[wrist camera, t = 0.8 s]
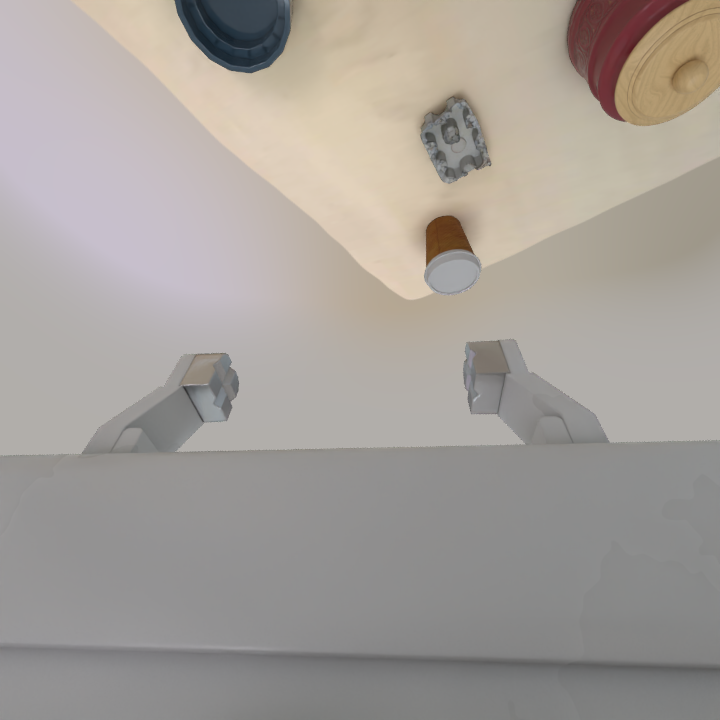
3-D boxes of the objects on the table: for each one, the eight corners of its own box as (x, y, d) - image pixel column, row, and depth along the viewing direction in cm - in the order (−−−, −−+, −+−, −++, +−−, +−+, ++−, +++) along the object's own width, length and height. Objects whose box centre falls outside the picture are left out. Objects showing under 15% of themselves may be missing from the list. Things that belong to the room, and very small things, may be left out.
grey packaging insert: (488, 151, 60) (494, 167, 58) (442, 176, 64) (446, 192, 61) (465, 86, 52) (471, 102, 50) (414, 118, 56) (417, 134, 54)
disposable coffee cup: (468, 245, 76) (480, 292, 70) (418, 253, 77) (426, 300, 71) (471, 203, 68) (485, 252, 62) (415, 213, 69) (423, 262, 63)
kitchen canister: (606, -78, 40) (688, -16, 31) (722, -63, 41) (834, 1, 32) (544, 69, 51) (591, 147, 42) (637, 78, 52) (703, 155, 43)
